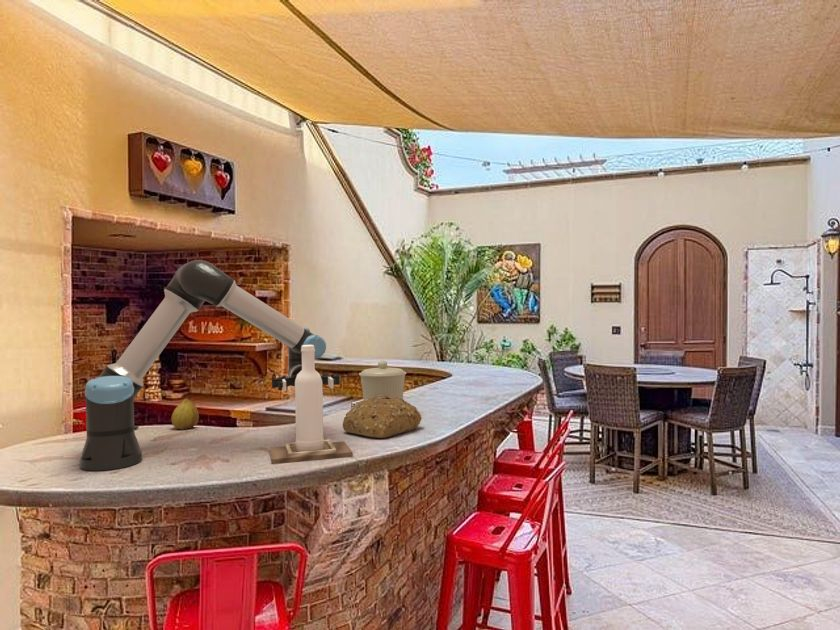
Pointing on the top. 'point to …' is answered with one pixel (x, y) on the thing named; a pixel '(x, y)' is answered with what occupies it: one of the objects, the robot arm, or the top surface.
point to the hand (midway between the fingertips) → (308, 385)
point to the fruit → (185, 415)
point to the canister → (382, 381)
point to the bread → (381, 417)
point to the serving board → (309, 452)
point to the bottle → (309, 404)
